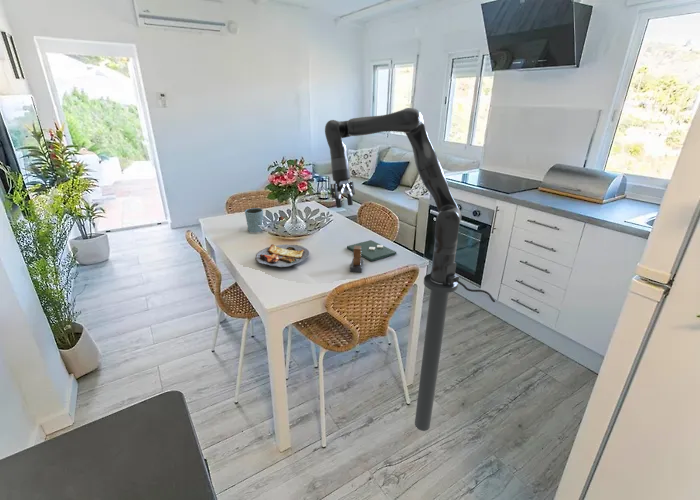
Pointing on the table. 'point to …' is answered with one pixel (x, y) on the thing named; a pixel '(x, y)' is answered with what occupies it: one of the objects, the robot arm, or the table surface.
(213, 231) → the table surface
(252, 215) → the grey-green cup
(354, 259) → the brown block with base
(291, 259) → the food plate
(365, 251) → the slate
